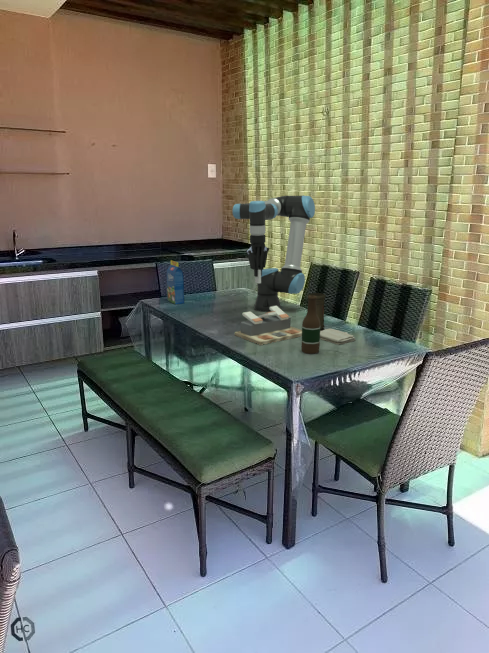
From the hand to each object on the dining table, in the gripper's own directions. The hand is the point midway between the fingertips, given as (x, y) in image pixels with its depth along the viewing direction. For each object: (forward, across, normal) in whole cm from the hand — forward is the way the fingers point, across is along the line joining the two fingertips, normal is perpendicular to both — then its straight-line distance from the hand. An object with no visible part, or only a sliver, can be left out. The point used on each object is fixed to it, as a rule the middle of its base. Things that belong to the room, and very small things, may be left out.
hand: (258, 282), depth 244 cm
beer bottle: (+21, +9, +45) cm, 51 cm away
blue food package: (+23, +5, -74) cm, 77 cm away
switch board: (+22, +6, +16) cm, 28 cm away
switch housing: (+20, +6, +12) cm, 24 cm away
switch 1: (+14, +13, +12) cm, 23 cm away
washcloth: (+23, -13, +38) cm, 46 cm away
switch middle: (+14, +5, +13) cm, 20 cm away
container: (+23, -16, +24) cm, 37 cm away
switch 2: (+15, -3, +12) cm, 19 cm away
